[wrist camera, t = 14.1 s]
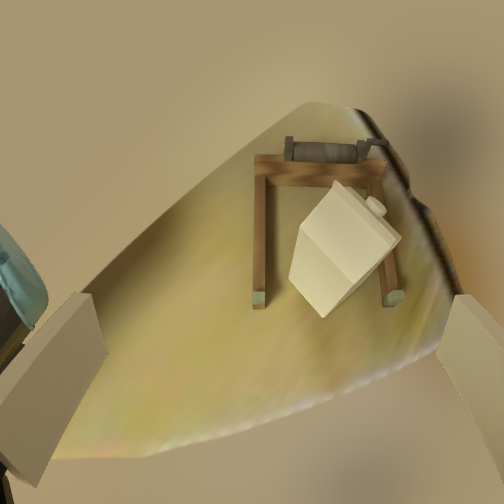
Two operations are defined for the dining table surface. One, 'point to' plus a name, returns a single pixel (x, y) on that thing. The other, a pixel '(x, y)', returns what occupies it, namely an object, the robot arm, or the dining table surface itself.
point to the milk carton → (340, 247)
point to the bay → (319, 175)
